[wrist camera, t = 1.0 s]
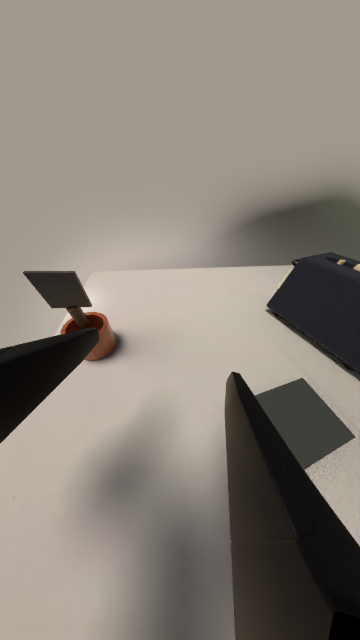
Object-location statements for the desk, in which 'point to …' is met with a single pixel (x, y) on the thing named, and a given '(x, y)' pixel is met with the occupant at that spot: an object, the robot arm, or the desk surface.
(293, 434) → the mat
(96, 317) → the crock
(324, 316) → the speaker
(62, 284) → the spatula
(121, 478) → the desk surface
